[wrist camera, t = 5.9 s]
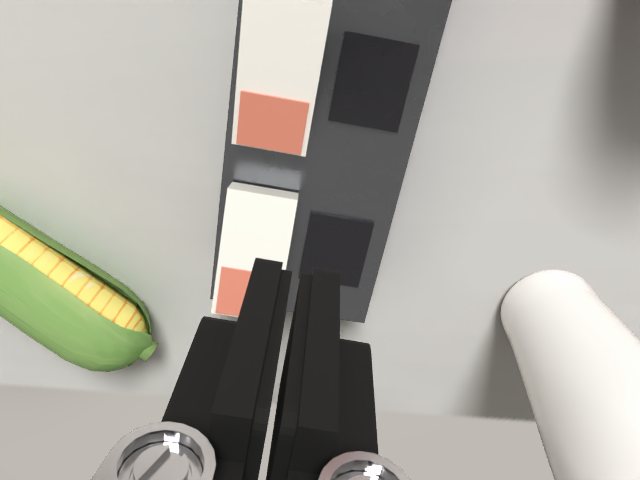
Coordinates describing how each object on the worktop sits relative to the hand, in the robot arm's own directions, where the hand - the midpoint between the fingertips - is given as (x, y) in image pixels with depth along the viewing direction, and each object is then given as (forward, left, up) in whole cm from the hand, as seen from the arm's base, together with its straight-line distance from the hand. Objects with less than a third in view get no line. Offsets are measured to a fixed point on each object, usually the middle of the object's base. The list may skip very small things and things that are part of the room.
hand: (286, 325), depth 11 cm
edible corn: (+15, +10, -18) cm, 26 cm away
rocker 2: (+2, +6, -12) cm, 14 cm away
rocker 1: (+2, -2, -12) cm, 13 cm away
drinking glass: (-15, +9, -18) cm, 25 cm away
